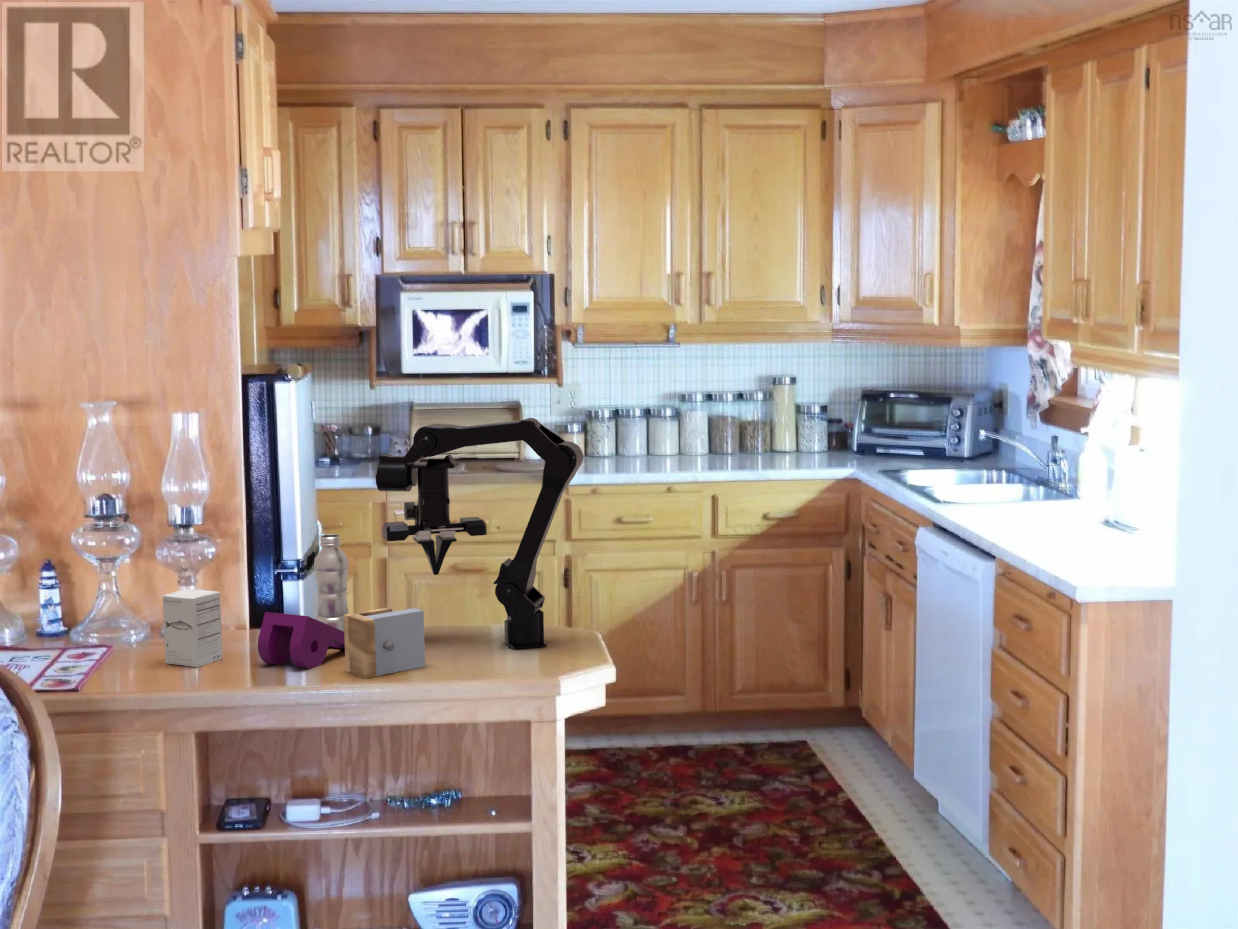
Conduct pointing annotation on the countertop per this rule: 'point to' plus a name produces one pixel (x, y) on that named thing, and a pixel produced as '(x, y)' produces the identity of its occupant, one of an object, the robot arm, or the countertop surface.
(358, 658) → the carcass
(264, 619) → the mounting bracket
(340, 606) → the plastic bottle
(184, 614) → the supplement box
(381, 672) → the pale grey oblong block
